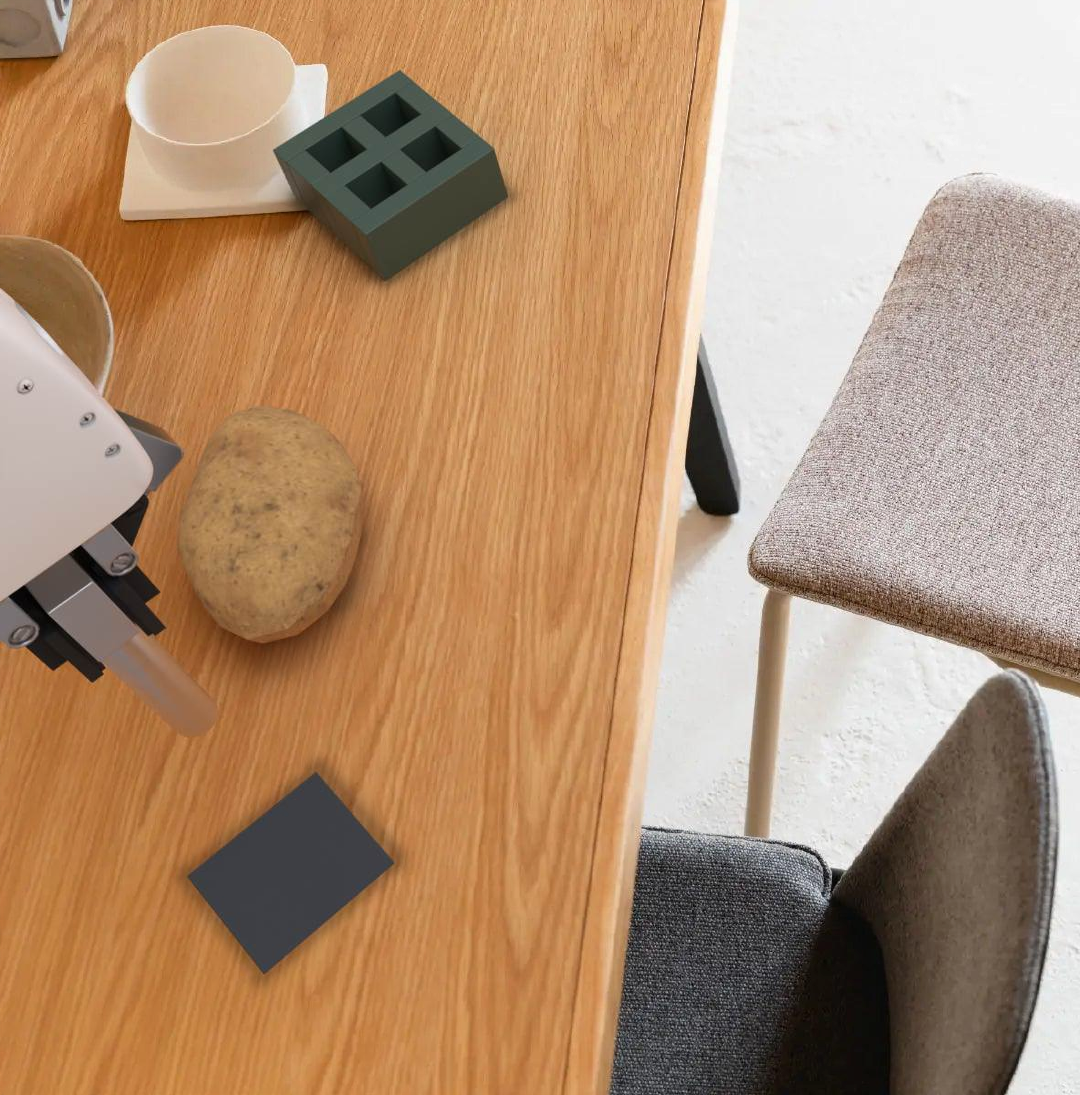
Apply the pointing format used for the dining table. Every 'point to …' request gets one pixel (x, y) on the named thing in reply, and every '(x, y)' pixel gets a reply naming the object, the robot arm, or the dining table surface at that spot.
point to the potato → (271, 523)
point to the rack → (392, 174)
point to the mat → (290, 871)
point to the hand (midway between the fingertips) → (108, 630)
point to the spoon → (123, 646)
